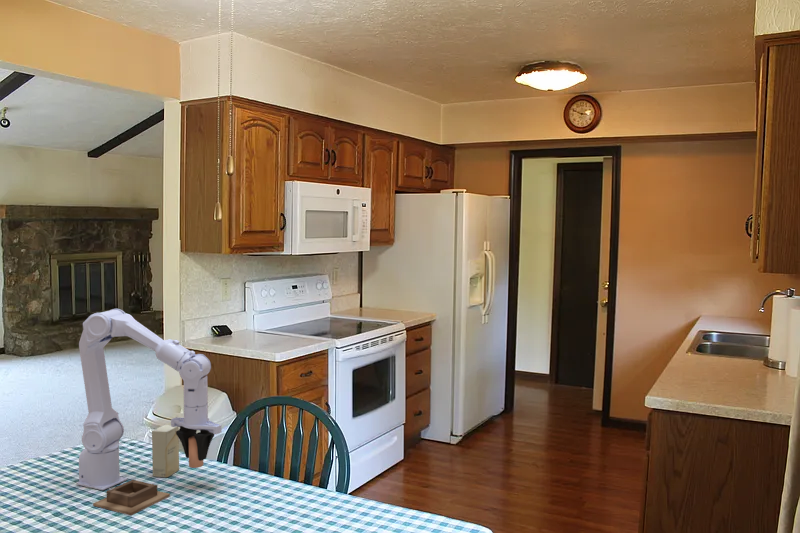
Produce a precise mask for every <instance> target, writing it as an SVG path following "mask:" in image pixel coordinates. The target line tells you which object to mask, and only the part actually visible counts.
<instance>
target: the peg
mask: <svg viewBox="0 0 800 533" xmlns="http://www.w3.org/2000/svg"><path fill="white" fill-rule="evenodd" d="M203 466H204V460H202V461H199V459H198V448H197V443H196V439H195V437H194V436H192V437H189V458H188V467H189V468H191V469H193V468H194V469H198V468H201V467H203Z"/></svg>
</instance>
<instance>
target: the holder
mask: <svg viewBox="0 0 800 533" xmlns="http://www.w3.org/2000/svg"><path fill="white" fill-rule="evenodd" d="M169 497H171V493H168V492H164V491H160V490H158V484H153V483H149V482H146V481H145V482H144V481H140V480H135V479H132V480H131V479H130V480H129V481H126V482H124V483H122V484H119V485H117V486H115V487H113V488H111V489H108V490H107V491H106V497H104V498H101V499H99V500H97V501H95V502H93V503H92V506H93V507H97V508H100V507H101V509H104V508H105V510H109V511H112V512H116V513H119V512H120V514H124V515H128V516H133V515H135V514H137V513H139V512H141V511H144V510H145V509H147V508H149V507H152V506H153V505H155V504H157V503H159V502H161V501H163V500H165V499H168V498H169Z"/></svg>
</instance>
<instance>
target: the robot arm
mask: <svg viewBox="0 0 800 533" xmlns="http://www.w3.org/2000/svg"><path fill="white" fill-rule="evenodd" d="M114 337H128V338H130V339H132V340H134V341H136V342H138V343H139V344H141V345H143V346H145V347H147V348H148V349H150V350H152V351H154V352H155V355H156V359H158V360H159V361H161V362H162V363H164V364H165V365H167V366H169V367H171V368H172V369H173V370H174V371H176V372H178V373H179V376H180V378H181V379H182V380H183V417H179V416H175V417H173V418H171V419H170V425H171V427H176V426H177V427H178V431H176V435H177V436H178V437H179V442H180V443H181V445H182V449H183V452H184V455H185V458H186V459H189V437H192V436H194V437H195V439H196V443H197V448H198V459H199V461H202V460H203V461H204V460H206V459H207V456H208V453H209V450H210V445H211V442H212V440H213V438H214V437H215V435H218V434H221V433H222V428H223V427H222V424H220V423H216V422H214V421H212V420H210V418H209V414H208V413H209V410H208V409H209V408H208V407H209V404H208V403H209V402H208V401H209V398H208V397H209V395H208V391H209V390H208V387H209V386H208V375H209V373H210V372H211V369H212V363H211V361H210V359H209V357H207V356H206V354H203V353H197V354H196V352H195V351H194V350H190V349H188V348H187V347H184V346H183V345H182V344H180V343H181V342H180V340H178V339H172V338H169V339H163V338H161V337H160V336H159V335H157V334H156V333H155V332H153V331H152V330H150V329H149V328H147V327H146V326H144V325H143V324H142V323H140V322H139V321H138V320H136V319H135V318H134V317H133V316H132V315H131V314H129V313H126V312H125V311H124V310H123V309H120V308H112V309H110V310H107V311H102V312H95V313H92V314H90V315H89V316H88V317H87V318H86V319H85V320H84V321H83V322H82V333H81V335H80V339H79V342H78V348H79V349H78V350H79V355H80V362H81V369H82V377H83V384H84V389H85V390H84V391H85V397H86V404H87V410H88V411H87V412H88V414H87V416H86V418H85V419H84V420H85V421H84V422H83V426H82V427H83V433H82V436H81V443H82V445H83V449H82V450H81V452H80V454H79V457H78V480H79V481H76V483H75V484H76V485H77V486H78V485H79V486H82V487H87V488H91V489H95V490H100V491H105V490H107V489H109V488H112V487H114V486H116V485H118V484H119V485H120V484H121V483H123V482H127V480H128V477H124V476H120V439H121V438H123V436H124V433H125V426H124V425H123V422H122V421H121V420H120V416H119V413H118V412H117V410H116V409H114V408H113V406H112V399H111V393H110V384H109V377H108V372H107V365H106V364H107V363H106V356H105V346H107V344H108V343H109V342H110V341H111V340H112V339H113V338H114ZM197 431H199V432H197Z"/></svg>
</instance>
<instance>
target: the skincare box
mask: <svg viewBox="0 0 800 533" xmlns="http://www.w3.org/2000/svg"><path fill="white" fill-rule="evenodd" d="M178 430H179V427H177V426H176V427H171V424H163V425H161V426H158V427H157V428H156V429H153V430H151V445H152V446H151V447H152V448H151V449H152V452H151V453H152V455H151V456H152V457H151V458H152V459H151V460H152V477H157V478H169V477H170V476H171V475H174V474H175V473H177V472H178V471H179V470H180V453H179V452H180V449H179V448H180V445H179V442H180V439H179V437H178V436H177V435H176V431H178Z"/></svg>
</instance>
